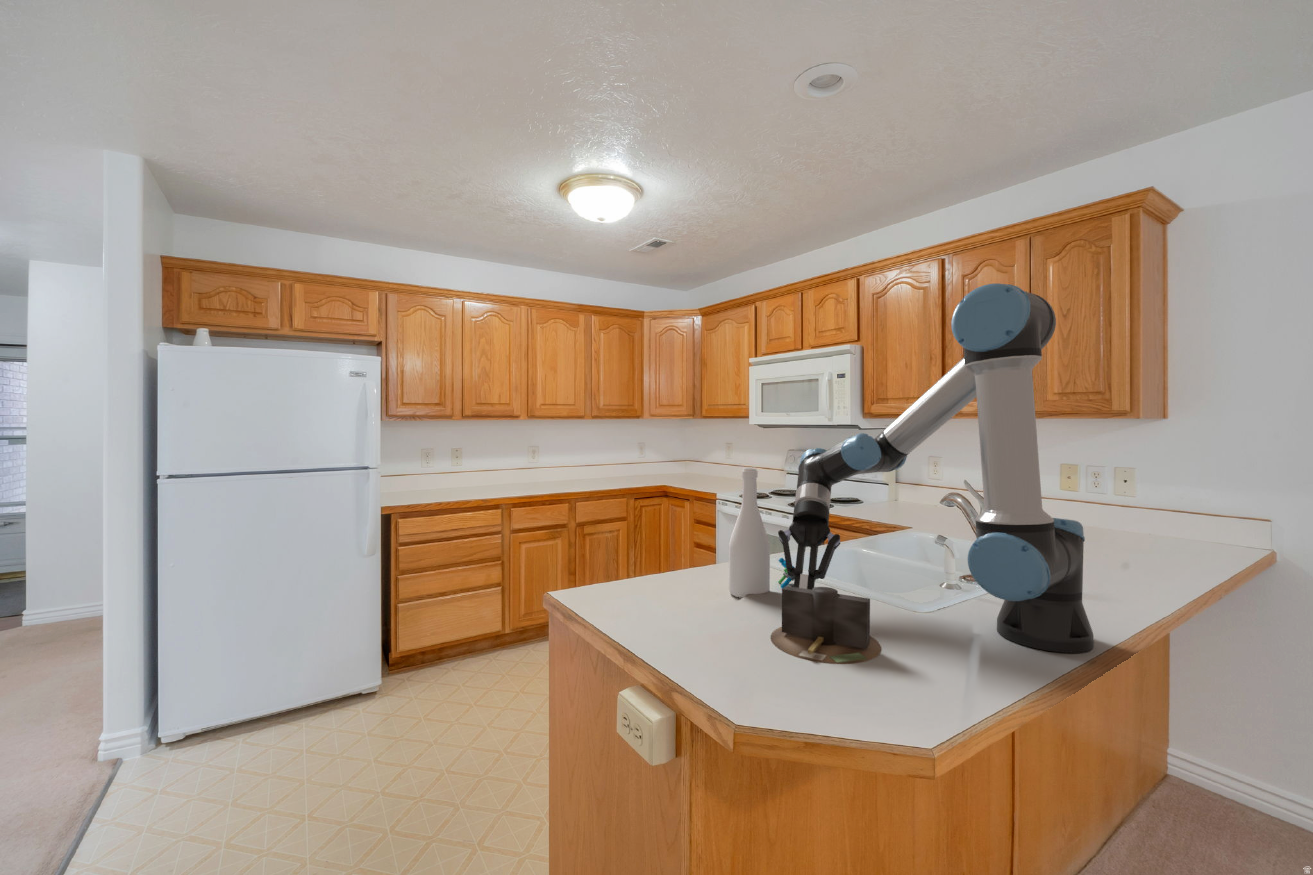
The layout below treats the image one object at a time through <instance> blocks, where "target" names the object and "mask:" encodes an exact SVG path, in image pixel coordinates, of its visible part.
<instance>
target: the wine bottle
mask: <svg viewBox="0 0 1313 875" xmlns="http://www.w3.org/2000/svg"><path fill="white" fill-rule="evenodd" d="M758 474H759V473H758V470H757V467H743V468H742V470H741V478H742V490H741V492H742V496H741V498H742V499H741V500H742V501H741V506H740V509H739V513H738V515H737V518H736V521H735V524H734V528H733V530H732V532H731V535H730V539H729V544H728V551H729V552H728V590H729V593H730V594H731V595H732V596H733V597H736V598H738V597H739V598H738V599H742V598H744V597H746V596H747V595H760V594H765V593H768V592H771V591H770V586H771V585H770V583H771V582H770V581H771V580H770V579H771V577H770V576H771V575H770V574H771V573H770V572H771V554H770V552H771V546H770V542H769V537H768V534H767V531H766V529H765V526H764V522H763V519H762V516H761V512H760V510H759V506H758V505H759V504H758V497H757V496H758V495H757V493H758V492H757V491H758V490H757V487H758V486H757V478H758Z"/></svg>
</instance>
